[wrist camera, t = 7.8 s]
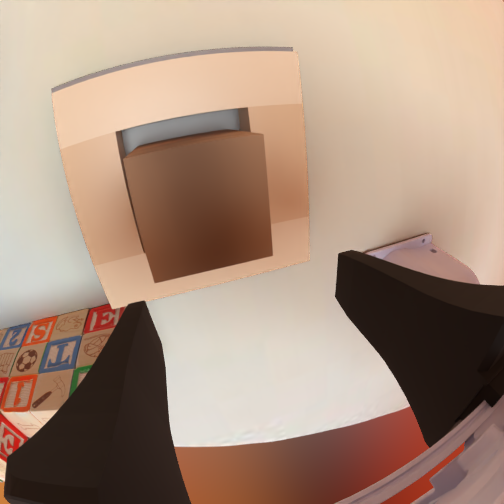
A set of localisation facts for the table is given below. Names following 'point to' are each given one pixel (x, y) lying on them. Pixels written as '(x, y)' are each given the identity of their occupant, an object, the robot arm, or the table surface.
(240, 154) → the walnut block
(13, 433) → the stack of blocks
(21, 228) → the table surface
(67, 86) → the puzzle board
